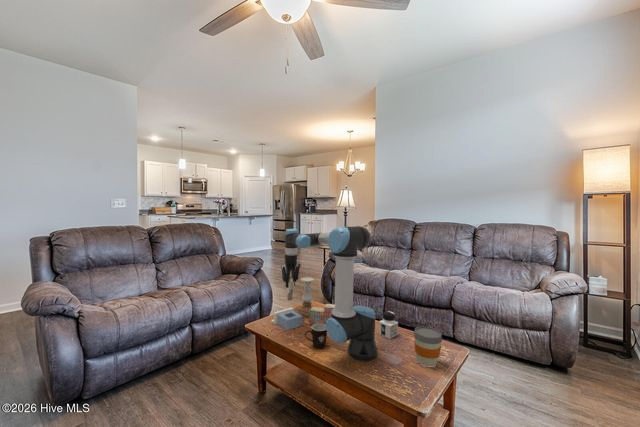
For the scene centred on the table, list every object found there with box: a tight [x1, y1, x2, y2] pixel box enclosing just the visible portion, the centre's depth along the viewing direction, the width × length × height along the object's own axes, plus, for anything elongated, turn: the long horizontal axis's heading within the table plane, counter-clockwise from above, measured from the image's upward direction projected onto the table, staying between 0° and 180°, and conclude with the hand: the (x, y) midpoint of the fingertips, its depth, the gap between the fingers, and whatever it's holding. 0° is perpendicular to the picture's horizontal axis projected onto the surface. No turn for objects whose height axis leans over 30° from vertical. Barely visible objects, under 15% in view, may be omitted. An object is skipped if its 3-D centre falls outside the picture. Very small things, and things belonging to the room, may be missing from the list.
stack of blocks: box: [309, 303, 335, 326], centre depth 175 cm, size 21×6×12 cm, turn 77°
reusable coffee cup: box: [413, 326, 443, 366], centre depth 135 cm, size 13×12×15 cm
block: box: [277, 310, 303, 331], centre depth 174 cm, size 11×11×6 cm
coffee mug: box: [304, 324, 328, 350], centre depth 149 cm, size 12×9×10 cm
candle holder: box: [295, 276, 316, 319], centre depth 191 cm, size 11×11×24 cm
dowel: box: [287, 276, 294, 301], centre depth 173 cm, size 3×3×14 cm
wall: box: [270, 307, 295, 325], centre depth 180 cm, size 5×14×7 cm, turn 130°
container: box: [378, 310, 399, 340], centre depth 163 cm, size 8×8×13 cm
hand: (290, 292), depth 173 cm, fingers closed on dowel, 2 cm apart
